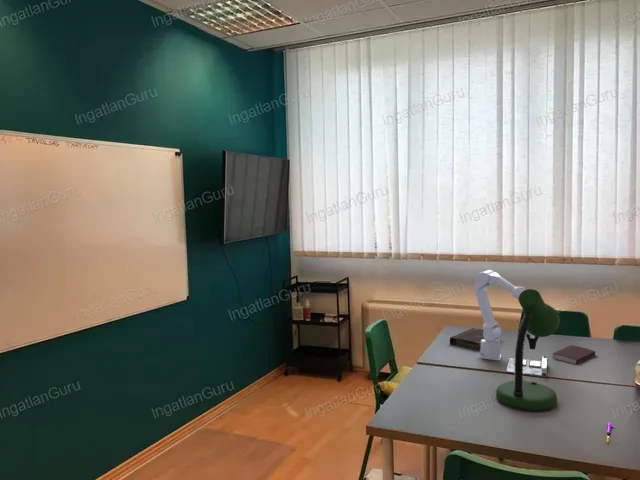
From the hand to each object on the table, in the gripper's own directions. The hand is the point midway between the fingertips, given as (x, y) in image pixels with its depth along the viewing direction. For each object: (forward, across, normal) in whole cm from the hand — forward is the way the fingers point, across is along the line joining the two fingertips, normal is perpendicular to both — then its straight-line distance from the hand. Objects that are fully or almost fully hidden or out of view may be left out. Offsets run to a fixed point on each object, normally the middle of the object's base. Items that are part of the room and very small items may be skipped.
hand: (532, 348), depth 245 cm
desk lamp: (+8, -39, 0) cm, 40 cm away
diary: (+9, +30, +29) cm, 43 cm away
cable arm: (+7, -5, -5) cm, 10 cm away
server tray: (+8, -4, +2) cm, 9 cm away
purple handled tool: (+9, -63, -27) cm, 69 cm away
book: (+9, +20, -19) cm, 29 cm away
